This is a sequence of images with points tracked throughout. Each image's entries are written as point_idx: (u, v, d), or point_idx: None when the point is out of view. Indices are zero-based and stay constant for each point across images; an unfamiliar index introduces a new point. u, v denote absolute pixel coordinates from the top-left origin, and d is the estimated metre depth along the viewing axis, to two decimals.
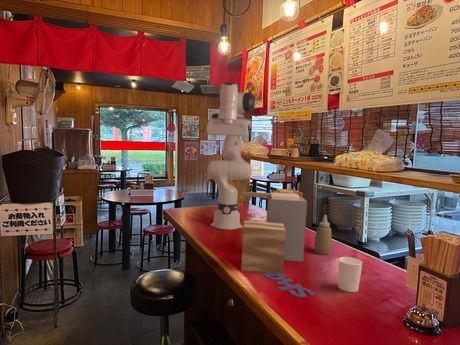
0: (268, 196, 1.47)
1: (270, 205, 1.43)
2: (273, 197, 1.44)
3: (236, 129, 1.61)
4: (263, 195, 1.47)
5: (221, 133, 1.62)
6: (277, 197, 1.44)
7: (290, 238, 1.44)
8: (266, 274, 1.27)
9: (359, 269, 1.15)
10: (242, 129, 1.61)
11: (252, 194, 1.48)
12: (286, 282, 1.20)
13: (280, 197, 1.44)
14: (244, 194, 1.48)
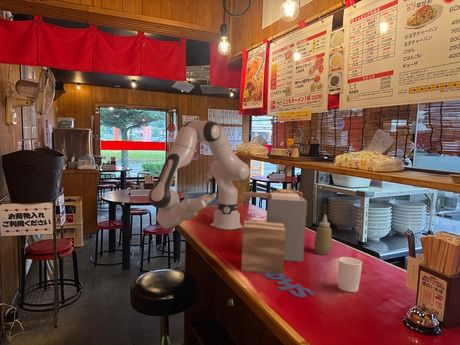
0: (268, 196, 1.47)
1: (270, 205, 1.43)
2: (273, 197, 1.44)
3: None
4: (263, 195, 1.47)
5: None
6: (277, 197, 1.44)
7: (290, 238, 1.44)
8: (266, 274, 1.27)
9: (359, 269, 1.15)
10: None
11: (252, 194, 1.48)
12: (286, 282, 1.20)
13: (280, 197, 1.44)
14: (244, 194, 1.48)
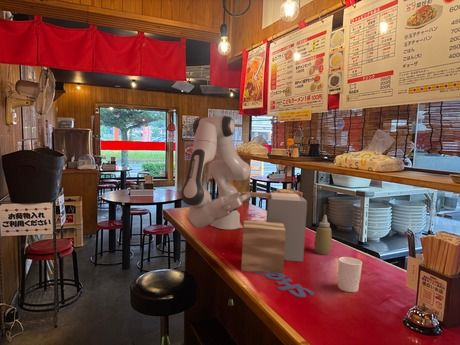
0: (268, 196, 1.47)
1: (270, 205, 1.43)
2: (273, 197, 1.44)
3: None
4: (263, 195, 1.47)
5: None
6: (277, 197, 1.44)
7: (290, 238, 1.44)
8: (266, 274, 1.27)
9: (359, 269, 1.15)
10: None
11: (252, 194, 1.48)
12: (286, 282, 1.20)
13: (280, 197, 1.44)
14: (244, 194, 1.48)
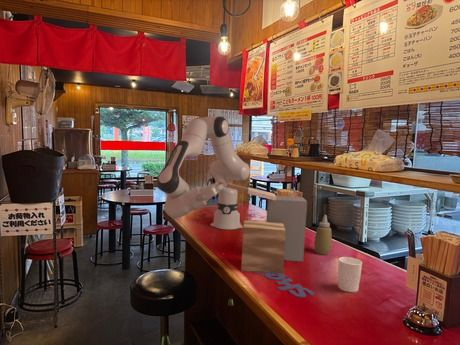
0: (245, 190, 1.44)
1: (270, 205, 1.43)
2: (249, 192, 1.41)
3: None
4: (240, 188, 1.44)
5: (218, 191, 1.49)
6: (253, 193, 1.41)
7: (290, 238, 1.44)
8: (266, 274, 1.27)
9: (359, 269, 1.15)
10: None
11: (229, 185, 1.44)
12: (286, 282, 1.20)
13: (256, 193, 1.41)
14: None
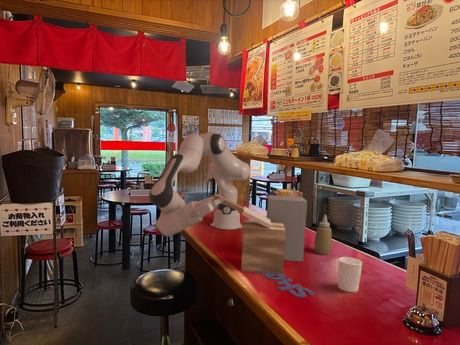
0: (240, 210, 1.32)
1: (270, 205, 1.43)
2: (244, 213, 1.29)
3: None
4: (235, 206, 1.32)
5: None
6: (248, 215, 1.29)
7: (290, 238, 1.44)
8: (266, 274, 1.27)
9: (359, 269, 1.15)
10: None
11: (224, 201, 1.32)
12: (286, 282, 1.20)
13: (251, 216, 1.29)
14: (216, 197, 1.32)
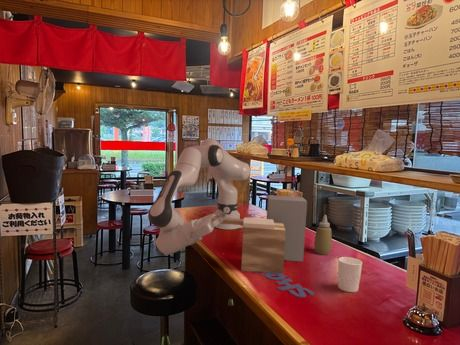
0: (240, 223, 1.33)
1: (270, 205, 1.43)
2: (245, 225, 1.30)
3: None
4: (235, 222, 1.33)
5: None
6: (249, 225, 1.29)
7: (290, 238, 1.44)
8: (266, 274, 1.27)
9: (359, 269, 1.15)
10: None
11: None
12: (286, 282, 1.20)
13: (253, 225, 1.29)
14: None
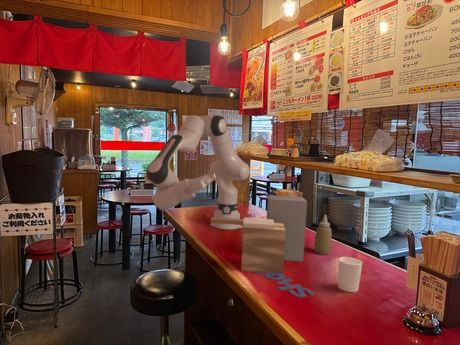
0: (240, 223, 1.33)
1: (270, 205, 1.43)
2: (245, 225, 1.30)
3: None
4: (235, 222, 1.33)
5: None
6: (249, 225, 1.29)
7: (290, 238, 1.44)
8: (266, 274, 1.27)
9: (359, 269, 1.15)
10: None
11: (222, 221, 1.33)
12: (286, 282, 1.20)
13: (253, 225, 1.29)
14: (214, 221, 1.33)
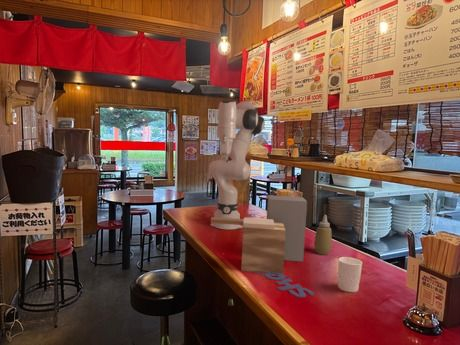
0: (240, 223, 1.33)
1: (270, 205, 1.43)
2: (245, 225, 1.30)
3: None
4: (235, 222, 1.33)
5: None
6: (249, 225, 1.29)
7: (290, 238, 1.44)
8: (266, 274, 1.27)
9: (359, 269, 1.15)
10: None
11: (222, 221, 1.33)
12: (286, 282, 1.20)
13: (253, 225, 1.29)
14: (214, 221, 1.33)
